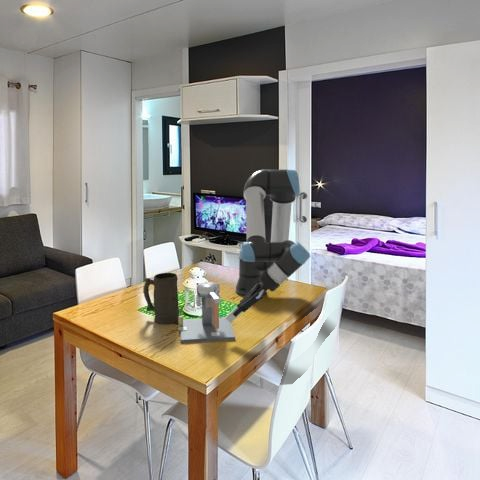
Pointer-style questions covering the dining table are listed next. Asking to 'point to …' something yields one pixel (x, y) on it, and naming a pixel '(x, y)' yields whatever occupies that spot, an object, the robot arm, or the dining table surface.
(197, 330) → the post on base plate
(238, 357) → the dining table surface
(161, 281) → the beer stein
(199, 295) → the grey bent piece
